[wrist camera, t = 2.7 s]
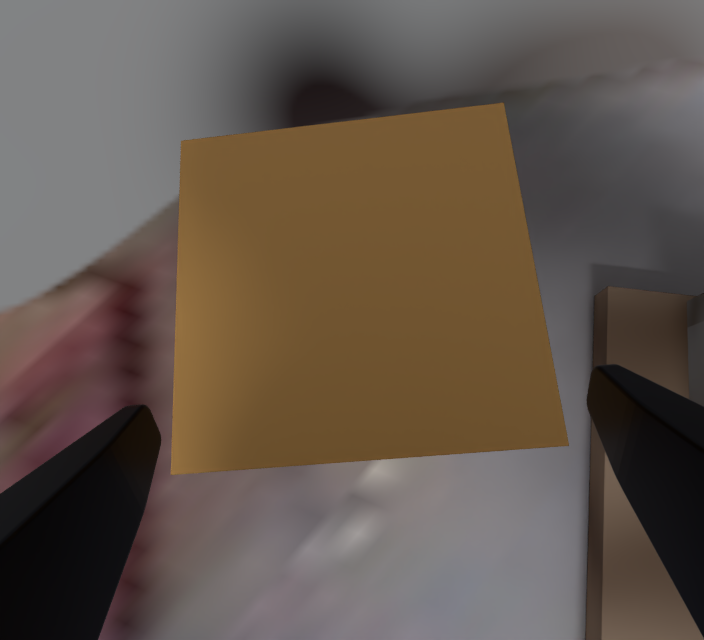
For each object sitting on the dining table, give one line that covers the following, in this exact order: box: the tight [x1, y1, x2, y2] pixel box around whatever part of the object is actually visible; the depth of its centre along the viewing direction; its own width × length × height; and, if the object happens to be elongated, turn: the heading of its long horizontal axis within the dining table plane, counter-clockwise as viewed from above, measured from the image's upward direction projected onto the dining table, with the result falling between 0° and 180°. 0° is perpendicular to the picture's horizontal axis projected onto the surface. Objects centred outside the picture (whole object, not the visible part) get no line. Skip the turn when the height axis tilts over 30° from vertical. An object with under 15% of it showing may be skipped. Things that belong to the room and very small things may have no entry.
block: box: [171, 103, 569, 475], centre depth 12 cm, size 4×4×13 cm
